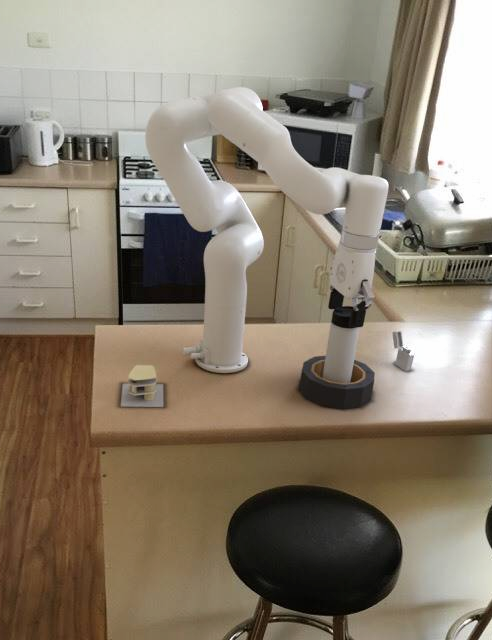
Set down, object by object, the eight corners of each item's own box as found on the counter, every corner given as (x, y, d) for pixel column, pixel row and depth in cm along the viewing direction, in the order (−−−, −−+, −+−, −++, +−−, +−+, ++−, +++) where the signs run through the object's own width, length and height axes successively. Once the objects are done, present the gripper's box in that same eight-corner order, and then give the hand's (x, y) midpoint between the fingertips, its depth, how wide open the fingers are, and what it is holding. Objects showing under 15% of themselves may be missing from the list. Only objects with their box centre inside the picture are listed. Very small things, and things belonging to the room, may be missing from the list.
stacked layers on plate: (122, 383, 155) (122, 361, 152) (163, 384, 155) (163, 362, 153) (120, 406, 146) (120, 383, 143) (163, 407, 147) (163, 384, 144)
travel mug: (349, 399, 155) (364, 316, 145) (319, 394, 156) (332, 311, 146) (350, 386, 160) (364, 305, 150) (321, 382, 161) (334, 301, 151)
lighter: (411, 370, 169) (418, 340, 166) (406, 371, 169) (412, 341, 165) (392, 357, 175) (398, 328, 171) (386, 359, 174) (392, 329, 170)
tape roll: (318, 412, 149) (321, 391, 146) (289, 377, 162) (291, 358, 160) (383, 404, 154) (387, 384, 151) (350, 371, 167) (353, 352, 164)
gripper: (324, 227, 146) (312, 302, 155) (363, 254, 132) (347, 335, 141) (355, 226, 149) (342, 301, 157) (397, 253, 135) (380, 333, 143)
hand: (345, 317), depth 149 cm, fingers open, 9 cm apart
